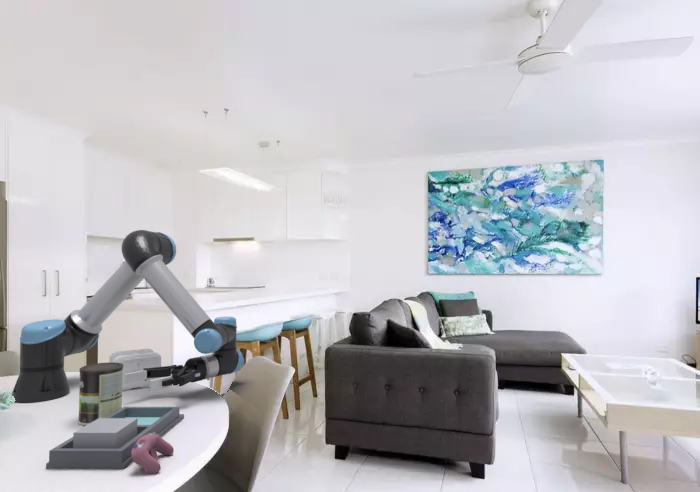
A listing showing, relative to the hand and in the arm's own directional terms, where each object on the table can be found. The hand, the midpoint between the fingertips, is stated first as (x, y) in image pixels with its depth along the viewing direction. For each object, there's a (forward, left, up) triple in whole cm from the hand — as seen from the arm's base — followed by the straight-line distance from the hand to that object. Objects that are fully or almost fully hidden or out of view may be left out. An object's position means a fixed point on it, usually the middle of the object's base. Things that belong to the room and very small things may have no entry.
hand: (136, 382), depth 127 cm
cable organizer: (-14, +26, -8) cm, 31 cm away
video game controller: (+21, -35, -8) cm, 41 cm away
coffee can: (-6, -8, -8) cm, 13 cm away
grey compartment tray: (+8, -22, -8) cm, 25 cm away
